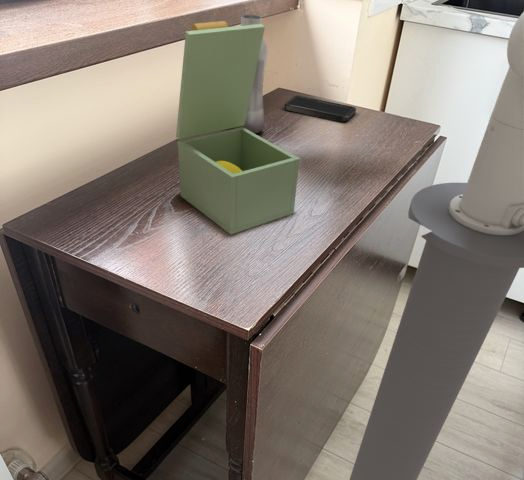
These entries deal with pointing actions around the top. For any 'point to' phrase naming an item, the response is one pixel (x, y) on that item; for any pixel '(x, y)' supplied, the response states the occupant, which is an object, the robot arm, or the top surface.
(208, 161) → the chest
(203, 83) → the lid
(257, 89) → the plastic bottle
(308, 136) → the top surface
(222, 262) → the top surface
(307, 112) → the phone
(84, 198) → the top surface
